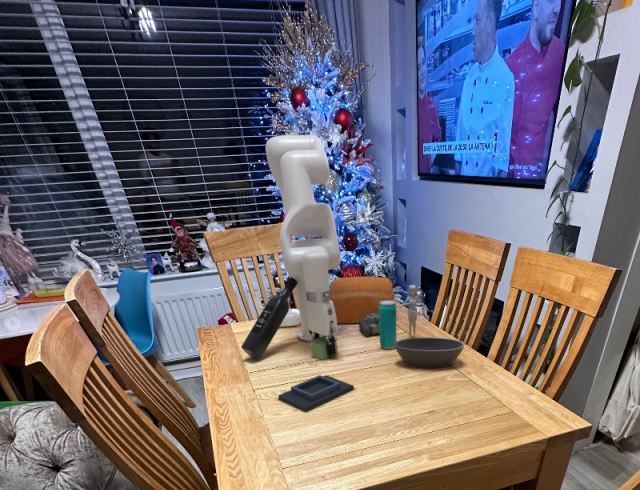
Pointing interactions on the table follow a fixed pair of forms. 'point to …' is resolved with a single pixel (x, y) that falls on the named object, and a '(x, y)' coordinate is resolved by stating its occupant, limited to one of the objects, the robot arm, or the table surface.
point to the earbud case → (291, 318)
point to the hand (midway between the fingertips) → (325, 352)
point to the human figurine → (412, 308)
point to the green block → (321, 347)
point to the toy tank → (370, 324)
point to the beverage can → (387, 324)
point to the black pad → (315, 392)
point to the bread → (359, 297)
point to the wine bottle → (268, 322)
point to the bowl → (429, 351)
